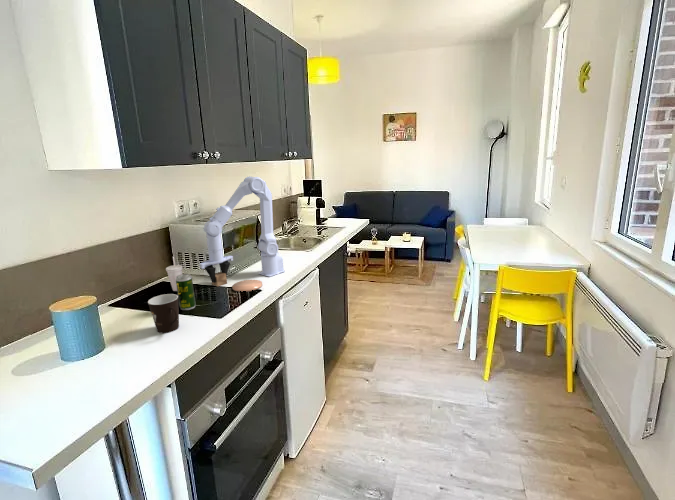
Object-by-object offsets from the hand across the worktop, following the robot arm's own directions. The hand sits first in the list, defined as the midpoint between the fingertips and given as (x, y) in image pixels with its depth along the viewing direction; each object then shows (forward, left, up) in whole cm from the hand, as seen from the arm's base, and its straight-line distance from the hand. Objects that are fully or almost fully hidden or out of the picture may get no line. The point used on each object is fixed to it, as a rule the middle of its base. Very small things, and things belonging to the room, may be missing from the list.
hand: (219, 280), depth 154 cm
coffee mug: (+34, +25, -2) cm, 42 cm away
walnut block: (0, 0, -2) cm, 2 cm away
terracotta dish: (-5, +13, -2) cm, 14 cm away
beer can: (+21, +13, -2) cm, 25 cm away
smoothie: (+14, -9, -2) cm, 17 cm away
